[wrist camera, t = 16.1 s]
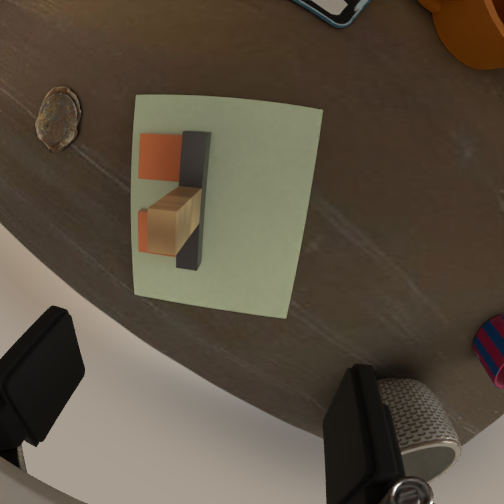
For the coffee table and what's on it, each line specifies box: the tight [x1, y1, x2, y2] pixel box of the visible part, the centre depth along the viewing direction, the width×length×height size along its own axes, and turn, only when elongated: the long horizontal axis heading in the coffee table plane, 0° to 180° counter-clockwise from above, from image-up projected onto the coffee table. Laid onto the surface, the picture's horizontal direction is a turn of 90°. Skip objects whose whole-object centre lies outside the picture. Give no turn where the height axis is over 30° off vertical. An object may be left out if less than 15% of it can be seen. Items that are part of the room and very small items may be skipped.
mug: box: [418, 0, 504, 70], centre depth 14 cm, size 9×12×9 cm
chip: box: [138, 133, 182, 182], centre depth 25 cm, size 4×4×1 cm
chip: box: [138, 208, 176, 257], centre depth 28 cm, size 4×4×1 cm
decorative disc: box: [35, 86, 82, 153], centre depth 25 cm, size 6×6×1 cm
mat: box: [131, 95, 323, 319], centre depth 28 cm, size 20×16×1 cm
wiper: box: [147, 130, 211, 271], centre depth 23 cm, size 12×2×8 cm, turn 173°
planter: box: [377, 377, 461, 484], centre depth 30 cm, size 14×14×13 cm
